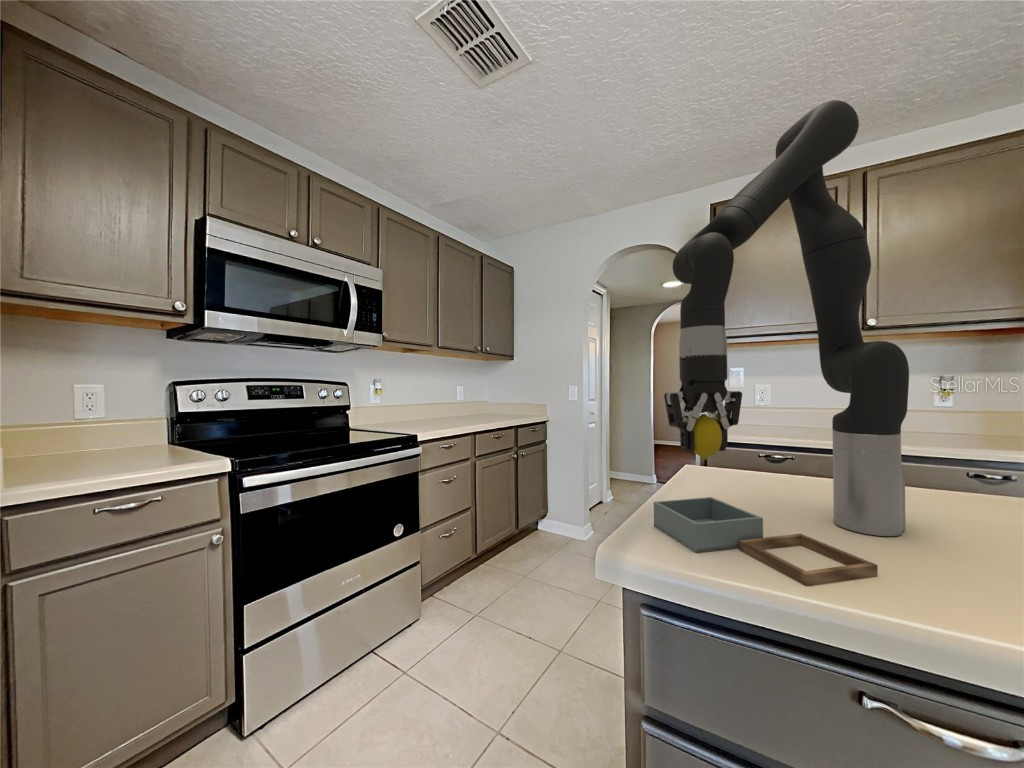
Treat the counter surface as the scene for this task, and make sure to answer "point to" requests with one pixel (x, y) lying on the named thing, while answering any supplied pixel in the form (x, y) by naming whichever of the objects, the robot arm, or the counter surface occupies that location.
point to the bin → (706, 523)
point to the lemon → (706, 436)
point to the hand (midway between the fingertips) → (704, 450)
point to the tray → (820, 576)
